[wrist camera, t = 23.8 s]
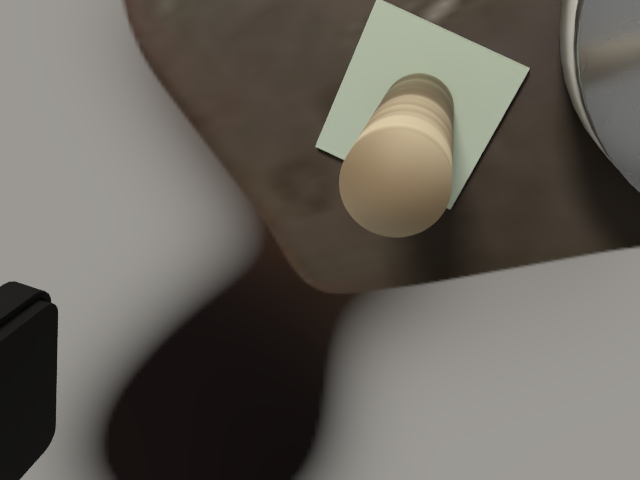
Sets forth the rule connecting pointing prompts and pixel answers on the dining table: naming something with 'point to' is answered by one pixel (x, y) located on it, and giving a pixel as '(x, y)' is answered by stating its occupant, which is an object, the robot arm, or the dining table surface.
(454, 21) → the dining table surface
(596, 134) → the chuck collar
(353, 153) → the beige cylinder
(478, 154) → the mat
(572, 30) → the chuck base
